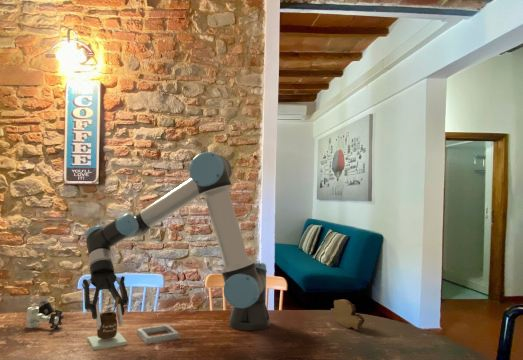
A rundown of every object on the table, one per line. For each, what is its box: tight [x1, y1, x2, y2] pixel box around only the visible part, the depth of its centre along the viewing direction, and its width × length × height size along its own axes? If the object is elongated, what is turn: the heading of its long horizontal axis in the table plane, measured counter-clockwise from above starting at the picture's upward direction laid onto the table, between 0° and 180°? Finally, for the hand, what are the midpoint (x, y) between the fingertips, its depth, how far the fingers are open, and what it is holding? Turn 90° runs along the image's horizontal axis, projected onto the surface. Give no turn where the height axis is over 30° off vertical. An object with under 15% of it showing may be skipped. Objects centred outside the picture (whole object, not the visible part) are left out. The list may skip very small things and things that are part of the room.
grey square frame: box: [136, 324, 180, 345], centre depth 143 cm, size 11×11×2 cm
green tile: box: [87, 331, 128, 351], centre depth 136 cm, size 10×10×1 cm
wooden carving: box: [330, 298, 365, 331], centre depth 159 cm, size 16×5×10 cm, turn 34°
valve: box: [25, 306, 65, 330], centre depth 150 cm, size 7×7×12 cm
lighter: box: [38, 300, 55, 316], centre depth 161 cm, size 9×2×6 cm
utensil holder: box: [96, 297, 119, 339], centre depth 137 cm, size 6×6×12 cm
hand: (110, 325), depth 134 cm, fingers closed on utensil holder, 6 cm apart
